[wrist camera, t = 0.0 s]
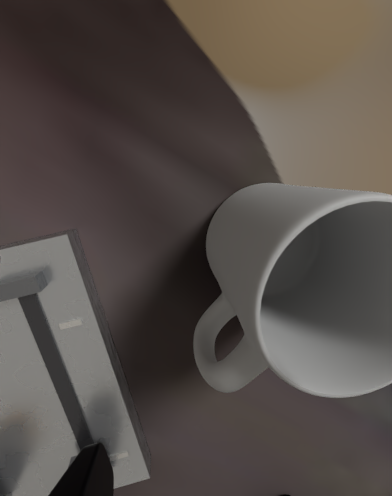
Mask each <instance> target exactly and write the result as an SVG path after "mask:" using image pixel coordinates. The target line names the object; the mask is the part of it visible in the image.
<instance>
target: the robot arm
mask: <svg viewBox="0 0 392 496" xmlns="http://www.w3.org/2000/svg"><path fill="white" fill-rule="evenodd" d="M113 491H114V473H113V468H112V465H111V463H110V460H109V457H108V455H107V452H106V449H105V447H104V445H103V444H102V443H101V442H98V443H95V444H91V445H87V446H85V447H83V448H82V449H81V451H80V452H79V453H78V455H77V456H76V458H75V459H74V460H73V462H72V463H71V464H70V466H69V467H68V469H67V470H66V471H65V473H64V474H63V476H62V477H61V478H60V480H59V481H58V483H57V484H56V485H55V487H54V488H53V489H52V491H51V492H50V494H49V495H48V496H113ZM285 496H290V495H285Z"/></svg>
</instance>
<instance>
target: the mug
mask: <svg viewBox="0 0 392 496" xmlns="http://www.w3.org/2000/svg"><path fill="white" fill-rule="evenodd" d="M206 254H207V259H208V262H209V265H210V268H211V270H212V272H213V274H214V276H215V278H216V279H217V281H218V283H219V286H220V288H221V290H222V293H221V295H220V296H219V297H218V298H217V299H216V300H215V301H214V302H213V303H212V305H211V306H210V307H209V308H208V309H207V310H206V311H205V312H204V314H203V315H202V316H201V318H200V320H199V321H198V323H197V325H196V328H195V332H194V340H193V350H194V357H195V361H196V364H197V367H198V369H199V371H200V373H201V375H202V377H203V378H204V379H205V381H206V382H207V383H208V384H209V385H210V386H211V387H213V388H214V389H215V390H217V391H219V392H225V393H230V392H234V391H237V390H239V389H241V388H242V387H244V386H245V385H247V384H248V383H249V382H251V381H252V380H253V379H254V378H256V377H257V376H258V375H259V374H260V373H262V372H263V371H264V370H265V369H267V368H268V367H269V368H270V369H271V370H272V371H273V372H274V373H275V374H276V375H277V376H278V377H279V378H281V379H282V380H283V381H285V382H286V383H287V384H289V385H291V386H292V387H294V388H296V389H298V390H300V391H303V392H305V393H308V394H311V395H316V396H321V397H331V398H344V397H353V396H359V395H363V394H366V393H370V392H373V391H376V390H378V389H381V388H383V387H385V386H387V385H389V384H391V383H392V195H389V194H385V193H378V192H367V191H355V190H342V189H330V188H317V187H304V186H293V185H285V184H278V183H262V184H255V185H251V186H248V187H245V188H243V189H241V190H239V191H237V192H236V193H234V194H233V195H231V196H230V197H229V198H228V199H227V200H225V201H224V202H223V204H222V205H221V206H220V207H219V208H218V210H217V211H216V213H215V214H214V216H213V218H212V220H211V222H210V225H209V228H208V232H207V236H206ZM236 315H237V317H238V319H239V321H240V324H241V326H242V328H243V330H244V336H243V338H242V339H241V341H240V342H239V344H238V345H237V346H236V347H235V348H234V350H233V351H232V352H231V353H230V354H229V355H228V356H226V357H225V358H224V359H222V360H220V361H218V362H217V360H216V356H215V349H214V347H215V340H216V337H217V335H218V333H219V331H220V330H221V329H222V327H223V326H224V325H225V324H226V323H227V322H228V321H229V320H230V319H231V318H233V317H234V316H236Z"/></svg>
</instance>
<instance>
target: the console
mask: <svg viewBox="0 0 392 496" xmlns="http://www.w3.org/2000/svg"><path fill="white" fill-rule="evenodd" d="M98 442H101V443H102V444H103V445H104V447H105V449H106V452H107V455H108V457H109V460H110V463H111V465H112V468H113V473H114V488H118V487H121V486H125V485H128V484H132V483H135V482H138V481H142V480H145V479H149V478H150V464H151V454H150V451H149V448H148V445H147V442H146V439H145V436H144V433H143V430H142V427H141V424H140V421H139V418H138V415H137V412H136V409H135V406H134V403H133V400H132V396H131V393H130V390H129V387H128V384H127V381H126V378H125V375H124V372H123V369H122V366H121V363H120V360H119V357H118V354H117V351H116V348H115V345H114V342H113V339H112V336H111V333H110V330H109V327H108V324H107V321H106V318H105V315H104V312H103V309H102V306H101V303H100V300H99V297H98V294H97V291H96V288H95V285H94V282H93V279H92V276H91V273H90V270H89V267H88V264H87V261H86V258H85V254H84V251H83V248H82V245H81V242H80V239H79V236H78V233H77V230H76V229H72V230H67V231H63V232H59V233H54V234H50V235H46V236H41V237H37V238H33V239H28V240H24V241H20V242H16V243H11V244H7V245H3V246H0V496H48V495H49V494H50V492H51V491H52V489H53V488H54V487H55V485H56V484H57V483H58V481H59V480H60V478H61V477H62V476H63V474H64V473H65V471H66V470H67V469H68V466H69V462H70V459H71V457H73V456H76V455H78V453H79V452H80V451H81V449H82V448H83V447H85V446H87V445H91V444H95V443H98Z"/></svg>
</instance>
